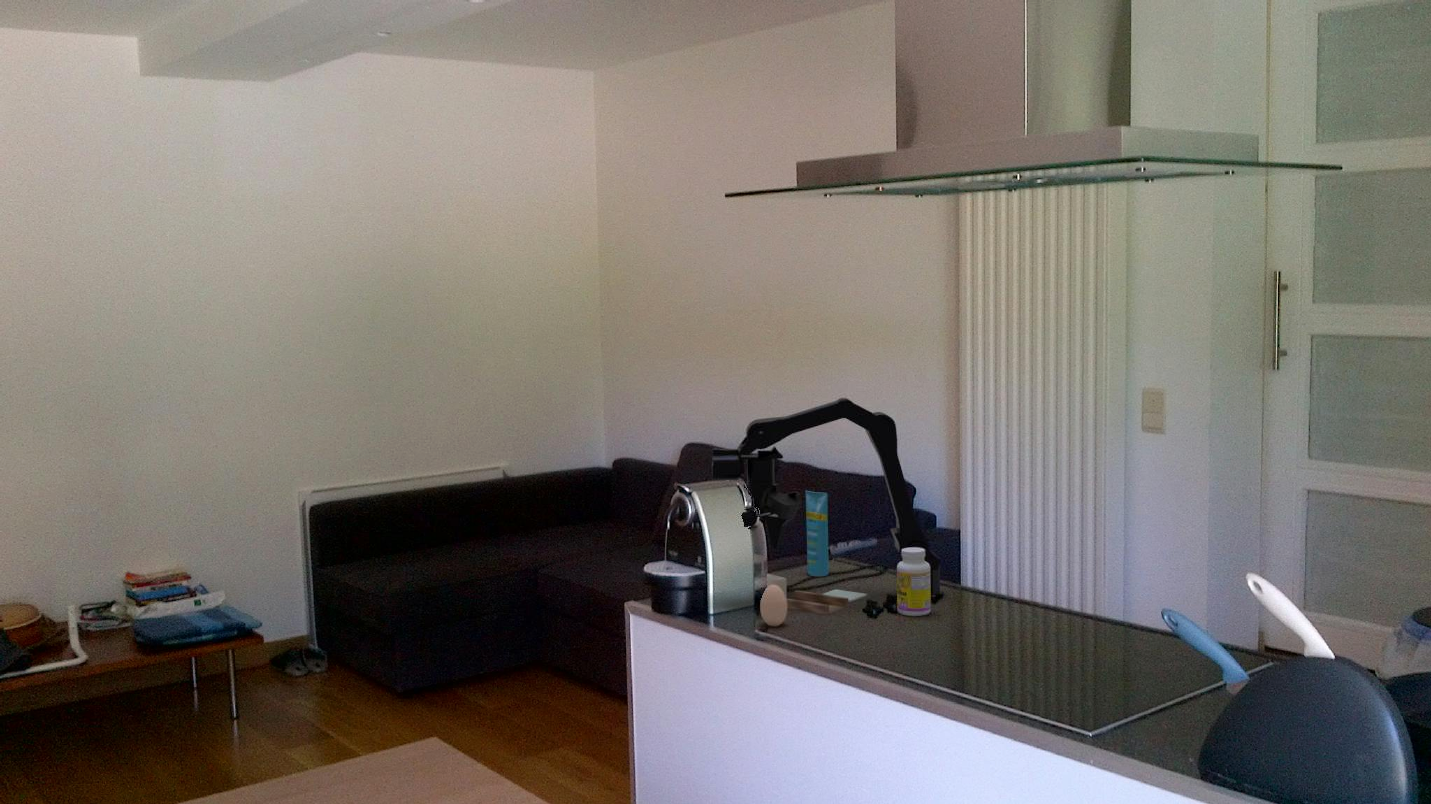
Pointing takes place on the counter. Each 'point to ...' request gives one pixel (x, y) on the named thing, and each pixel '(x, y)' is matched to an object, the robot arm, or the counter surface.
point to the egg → (773, 605)
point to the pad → (846, 594)
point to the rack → (816, 602)
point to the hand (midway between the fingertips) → (762, 553)
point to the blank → (777, 582)
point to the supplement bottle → (913, 583)
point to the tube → (817, 533)
